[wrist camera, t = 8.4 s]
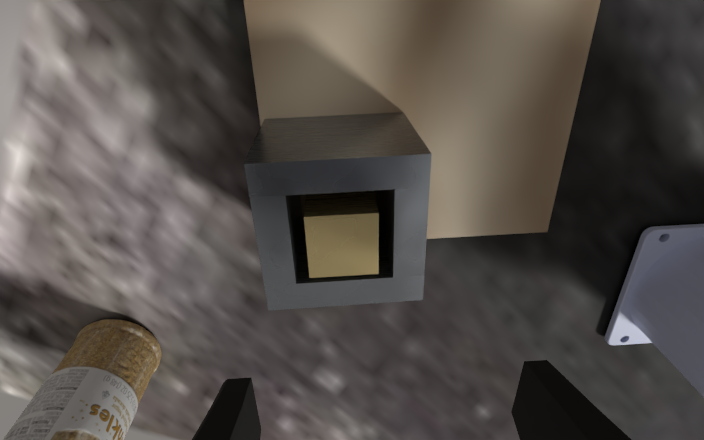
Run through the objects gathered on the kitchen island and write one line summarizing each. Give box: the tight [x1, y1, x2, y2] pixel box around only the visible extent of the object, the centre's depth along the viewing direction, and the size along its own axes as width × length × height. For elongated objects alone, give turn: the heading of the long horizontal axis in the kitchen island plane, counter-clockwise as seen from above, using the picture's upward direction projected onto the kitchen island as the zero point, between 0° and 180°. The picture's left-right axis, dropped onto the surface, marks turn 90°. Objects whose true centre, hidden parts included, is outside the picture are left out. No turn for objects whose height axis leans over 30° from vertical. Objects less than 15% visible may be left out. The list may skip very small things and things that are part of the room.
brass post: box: [304, 191, 379, 278], centre depth 16 cm, size 2×2×6 cm
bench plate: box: [244, 0, 601, 239], centre depth 17 cm, size 13×13×1 cm
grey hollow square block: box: [244, 112, 432, 310], centre depth 16 cm, size 6×6×5 cm
